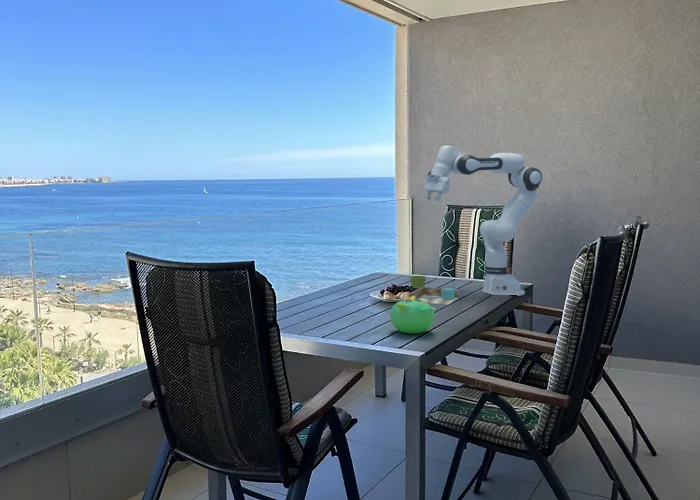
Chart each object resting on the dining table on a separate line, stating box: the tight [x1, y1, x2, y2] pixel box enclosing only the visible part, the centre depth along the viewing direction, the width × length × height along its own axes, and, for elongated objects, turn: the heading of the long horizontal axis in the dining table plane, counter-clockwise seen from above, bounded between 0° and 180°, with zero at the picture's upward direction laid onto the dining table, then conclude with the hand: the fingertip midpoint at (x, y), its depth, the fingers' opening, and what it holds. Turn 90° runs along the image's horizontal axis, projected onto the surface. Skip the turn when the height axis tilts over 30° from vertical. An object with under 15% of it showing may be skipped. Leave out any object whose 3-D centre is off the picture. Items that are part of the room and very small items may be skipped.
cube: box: [441, 287, 455, 301], centre depth 323 cm, size 5×5×5 cm
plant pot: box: [409, 275, 427, 289], centre depth 345 cm, size 9×9×9 cm
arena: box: [408, 286, 460, 306], centre depth 323 cm, size 20×20×5 cm
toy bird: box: [389, 296, 437, 334], centre depth 258 cm, size 18×17×15 cm
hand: (432, 200), depth 330 cm, fingers open, 8 cm apart
